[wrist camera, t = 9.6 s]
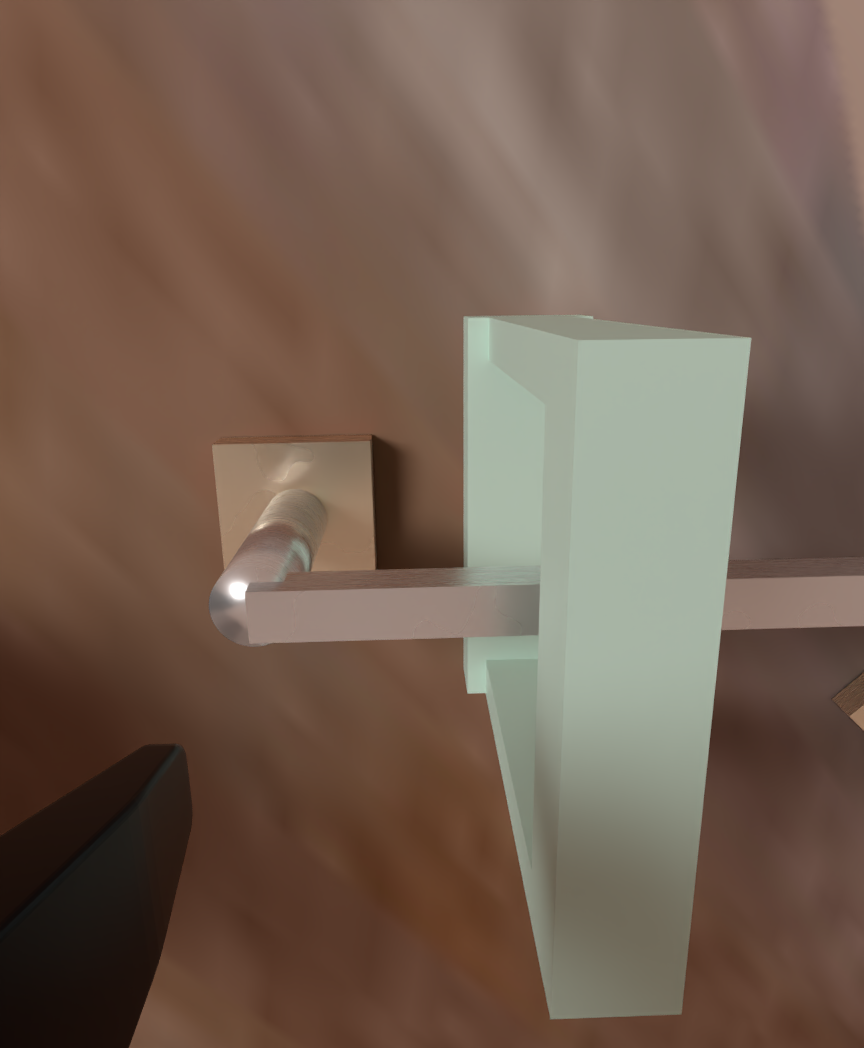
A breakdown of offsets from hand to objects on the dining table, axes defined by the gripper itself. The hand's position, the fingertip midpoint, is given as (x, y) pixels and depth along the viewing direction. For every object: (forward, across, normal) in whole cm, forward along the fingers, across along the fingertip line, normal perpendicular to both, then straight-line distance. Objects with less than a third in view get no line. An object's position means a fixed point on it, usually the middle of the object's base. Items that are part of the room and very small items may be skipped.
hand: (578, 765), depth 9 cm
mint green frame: (+13, -1, 0) cm, 13 cm away
